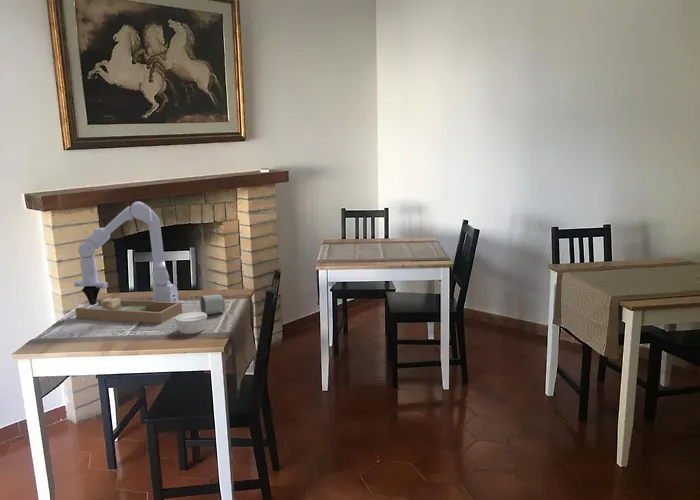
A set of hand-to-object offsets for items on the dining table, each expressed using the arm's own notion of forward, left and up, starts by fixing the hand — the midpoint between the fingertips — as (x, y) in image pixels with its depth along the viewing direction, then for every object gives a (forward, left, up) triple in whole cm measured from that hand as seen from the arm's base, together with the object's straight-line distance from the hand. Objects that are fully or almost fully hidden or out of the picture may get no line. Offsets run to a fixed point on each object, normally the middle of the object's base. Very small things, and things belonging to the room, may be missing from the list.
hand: (93, 304), depth 235 cm
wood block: (-9, 0, -2) cm, 9 cm away
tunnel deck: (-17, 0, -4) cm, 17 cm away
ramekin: (-52, +12, -4) cm, 53 cm away
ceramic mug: (-48, -9, -4) cm, 49 cm away
